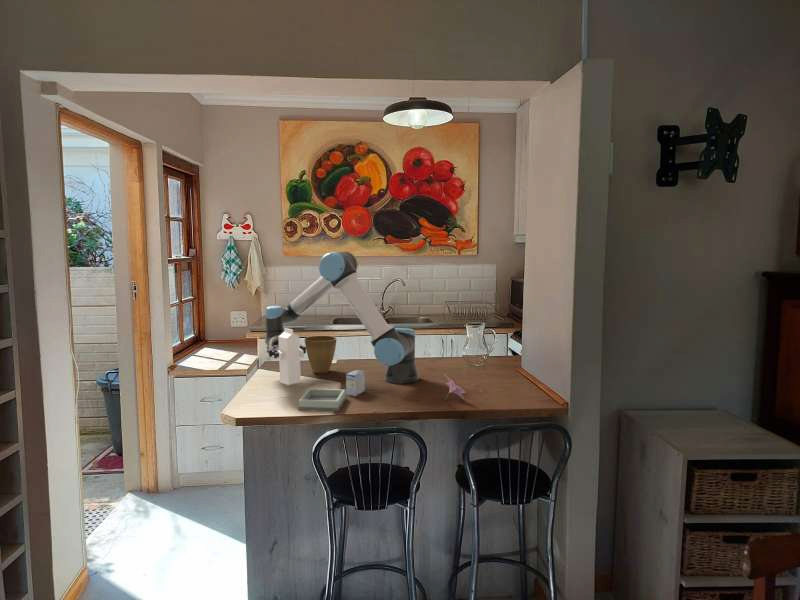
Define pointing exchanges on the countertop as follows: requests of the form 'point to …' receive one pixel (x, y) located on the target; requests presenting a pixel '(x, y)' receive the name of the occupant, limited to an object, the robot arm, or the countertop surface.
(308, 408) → the carton holder
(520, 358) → the countertop surface
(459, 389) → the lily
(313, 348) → the plant pot
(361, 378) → the medicine box
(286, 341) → the milk
